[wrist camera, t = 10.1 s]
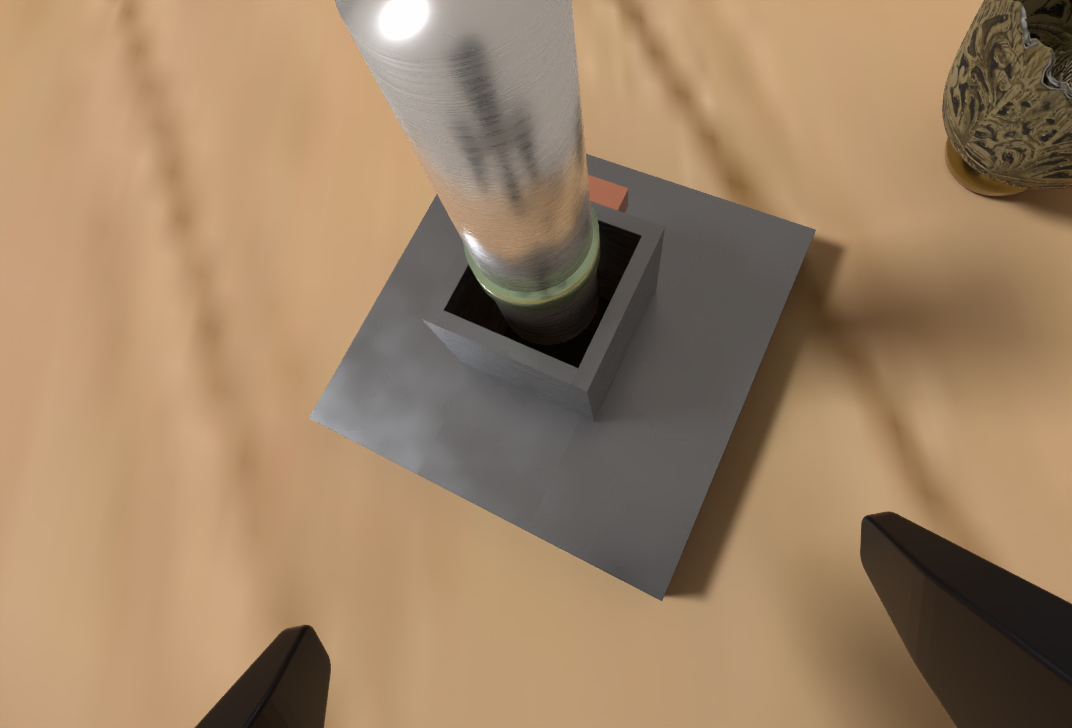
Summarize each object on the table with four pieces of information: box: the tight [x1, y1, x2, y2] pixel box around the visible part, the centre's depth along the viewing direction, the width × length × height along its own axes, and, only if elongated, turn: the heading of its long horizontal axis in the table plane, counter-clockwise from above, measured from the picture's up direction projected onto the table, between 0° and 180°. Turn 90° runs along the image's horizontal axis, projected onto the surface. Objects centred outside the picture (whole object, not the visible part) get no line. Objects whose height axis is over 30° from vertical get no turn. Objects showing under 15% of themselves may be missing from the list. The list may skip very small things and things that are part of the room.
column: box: [335, 0, 600, 345], centre depth 13 cm, size 4×4×12 cm
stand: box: [309, 154, 815, 601], centre depth 20 cm, size 14×14×6 cm
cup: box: [942, 0, 1072, 196], centre depth 19 cm, size 8×7×8 cm
